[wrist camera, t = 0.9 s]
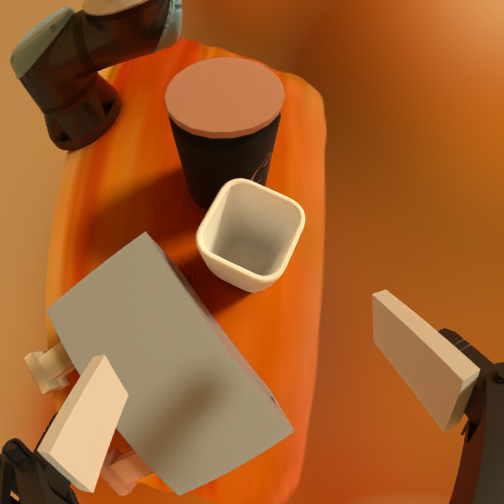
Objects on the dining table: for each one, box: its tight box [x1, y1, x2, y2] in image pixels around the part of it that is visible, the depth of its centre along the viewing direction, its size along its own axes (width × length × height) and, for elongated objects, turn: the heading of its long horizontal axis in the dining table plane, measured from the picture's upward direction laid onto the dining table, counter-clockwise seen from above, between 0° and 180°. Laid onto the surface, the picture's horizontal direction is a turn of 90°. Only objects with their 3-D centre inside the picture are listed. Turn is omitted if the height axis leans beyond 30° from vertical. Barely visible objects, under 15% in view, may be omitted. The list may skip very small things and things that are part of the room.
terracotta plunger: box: [100, 448, 154, 496], centre depth 22 cm, size 5×12×5 cm, turn 127°
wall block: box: [47, 231, 294, 495], centre depth 25 cm, size 20×12×14 cm, turn 37°
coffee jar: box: [164, 57, 285, 210], centre depth 30 cm, size 11×11×18 cm
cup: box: [196, 178, 305, 293], centre depth 28 cm, size 7×7×15 cm
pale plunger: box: [24, 341, 76, 394], centre depth 24 cm, size 5×12×5 cm, turn 127°
